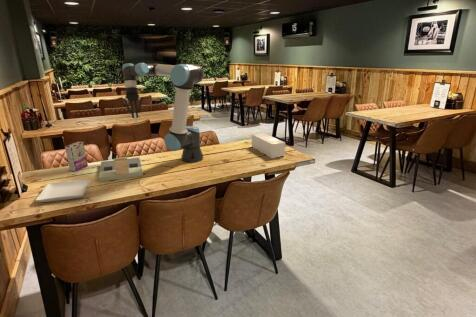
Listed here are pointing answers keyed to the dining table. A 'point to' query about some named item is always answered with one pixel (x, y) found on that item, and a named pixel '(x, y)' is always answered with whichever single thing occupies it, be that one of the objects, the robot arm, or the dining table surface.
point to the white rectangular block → (268, 145)
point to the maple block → (121, 165)
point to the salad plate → (63, 191)
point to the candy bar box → (76, 156)
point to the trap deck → (110, 174)
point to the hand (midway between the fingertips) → (135, 122)
